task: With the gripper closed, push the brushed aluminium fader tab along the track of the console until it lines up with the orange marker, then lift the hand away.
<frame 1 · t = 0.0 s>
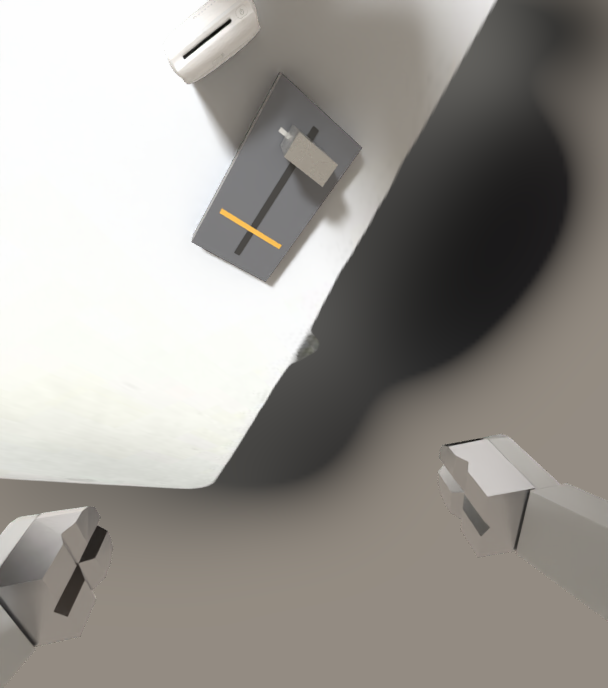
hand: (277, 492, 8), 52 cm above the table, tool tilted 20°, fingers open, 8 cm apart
console: (270, 191, 53), on the table
photo printer: (216, 39, 40), on the table
fader: (307, 154, 44), point 7 cm above the table, slide at -8.0 cm
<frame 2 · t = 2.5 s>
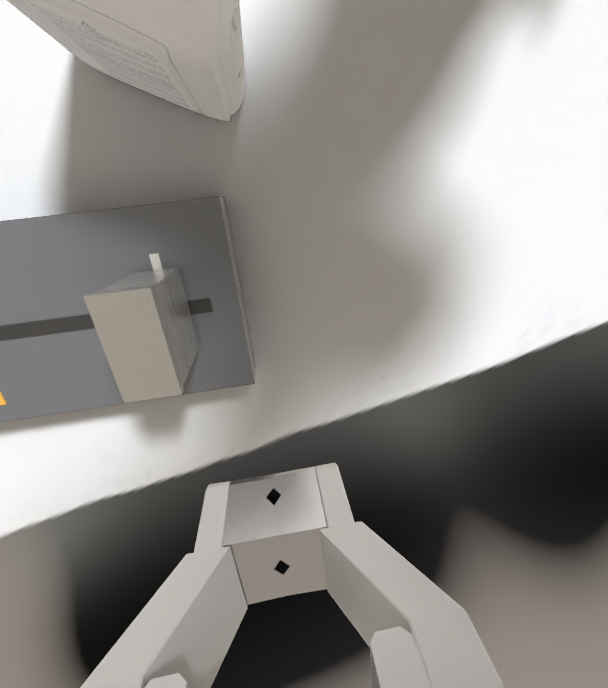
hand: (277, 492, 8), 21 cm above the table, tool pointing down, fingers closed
console: (76, 312, 26), on the table
photo printer: (167, 64, 21), on the table
fader: (154, 327, 20), point 7 cm above the table, slide at -8.0 cm
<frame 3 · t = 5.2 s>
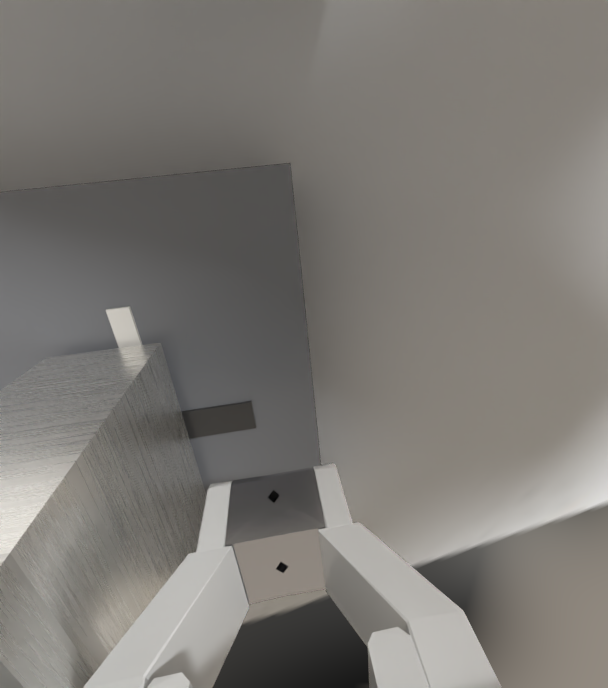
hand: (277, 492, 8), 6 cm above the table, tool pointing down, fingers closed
fader: (84, 539, 7), point 7 cm above the table, slide at -7.4 cm, touching gripper
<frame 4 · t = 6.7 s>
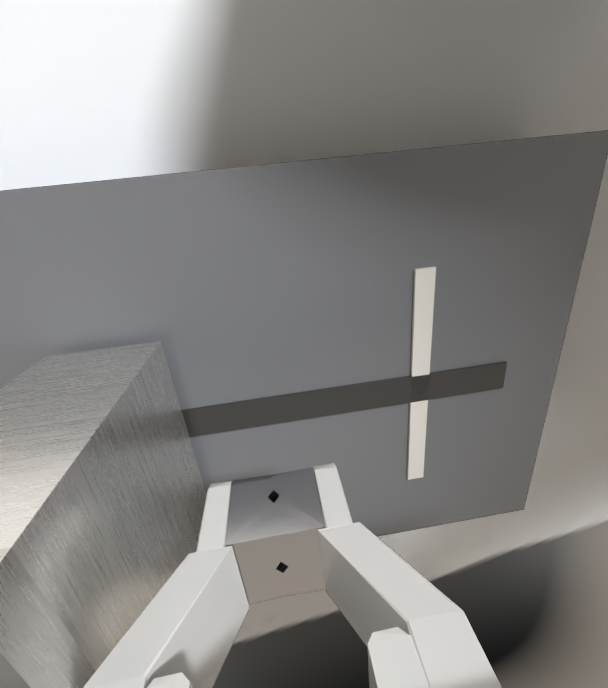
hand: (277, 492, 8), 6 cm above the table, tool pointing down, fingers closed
console: (194, 378, 13), on the table
fader: (85, 537, 7), point 7 cm above the table, slide at 1.1 cm, touching gripper
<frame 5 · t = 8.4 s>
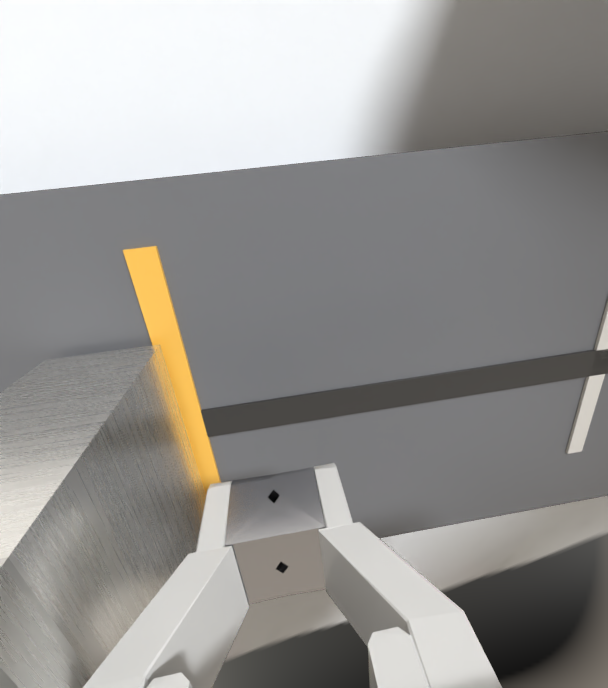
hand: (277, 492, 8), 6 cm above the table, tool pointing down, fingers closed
console: (352, 357, 14), on the table
fader: (84, 542, 7), point 7 cm above the table, slide at 7.6 cm, touching gripper
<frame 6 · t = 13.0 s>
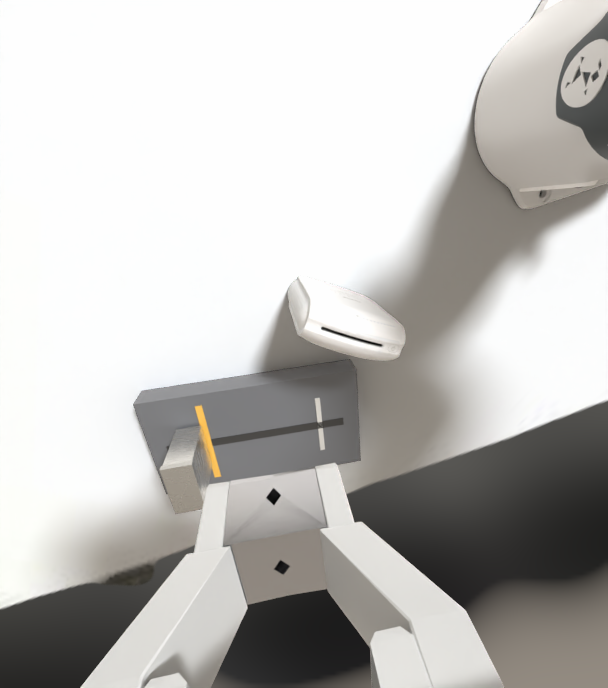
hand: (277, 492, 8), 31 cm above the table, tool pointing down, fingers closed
console: (257, 420, 44), on the table
photo printer: (329, 300, 39), on the table
fader: (189, 467, 37), point 7 cm above the table, slide at 7.6 cm
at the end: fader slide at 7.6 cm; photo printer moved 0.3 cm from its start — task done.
